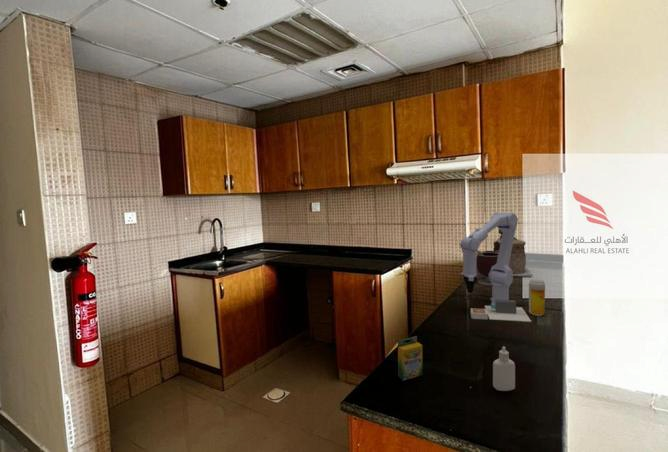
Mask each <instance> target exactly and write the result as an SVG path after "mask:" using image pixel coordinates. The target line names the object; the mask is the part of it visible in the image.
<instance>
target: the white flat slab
mask: <svg viewBox="0 0 668 452" xmlns="http://www.w3.org/2000/svg"><path fill="white" fill-rule="evenodd" d="M484 309H486V311H487V314H488V320H491V321H494V320H495V321H508V322H509V321H510V322H525V323H531V322H532V320H531V319H530V317H529V316H528V314H527V313H526V311H525V310H524V308H523V307H522V306H521V307H520V306H516V314H512V313H496V310H495V309H491V305H484Z"/></svg>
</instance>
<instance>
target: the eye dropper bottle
mask: <svg viewBox="0 0 668 452" xmlns="http://www.w3.org/2000/svg"><path fill="white" fill-rule="evenodd" d="M509 353H510V352H509V351H508V350H507V349H506V346H502V348H501V350H498V354H499V355H498V358H497V359H495V360H494V361H493V363H492V386H493V389H495V390H496V391H500V392H509V391H513V390H515V389H516V364H515V362H514V361H513V360H512V359H510V354H509Z"/></svg>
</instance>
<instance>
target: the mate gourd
mask: <svg viewBox="0 0 668 452" xmlns="http://www.w3.org/2000/svg"><path fill="white" fill-rule="evenodd" d="M498 254H499V253H494V252H492V251H491V252H487V251H485V252H483V251H480V250H479V249H478V250H476V270H477V271H478V273H479V274H480V275H482V276H485V278H482V279H477V283H478V284H481V285H485V286H492V284H491V281H490V280H489V273H490V271H491V268H492V266H494V265H495V264H497V259H498ZM499 271H501V270H499Z"/></svg>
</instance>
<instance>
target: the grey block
mask: <svg viewBox="0 0 668 452" xmlns="http://www.w3.org/2000/svg"><path fill="white" fill-rule="evenodd" d="M490 306H491V309H495V310H496V313H512V314H516V307H517V302H516V300H515V299H509V300H496V299H495V303H492V302H491V303H490Z"/></svg>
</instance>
